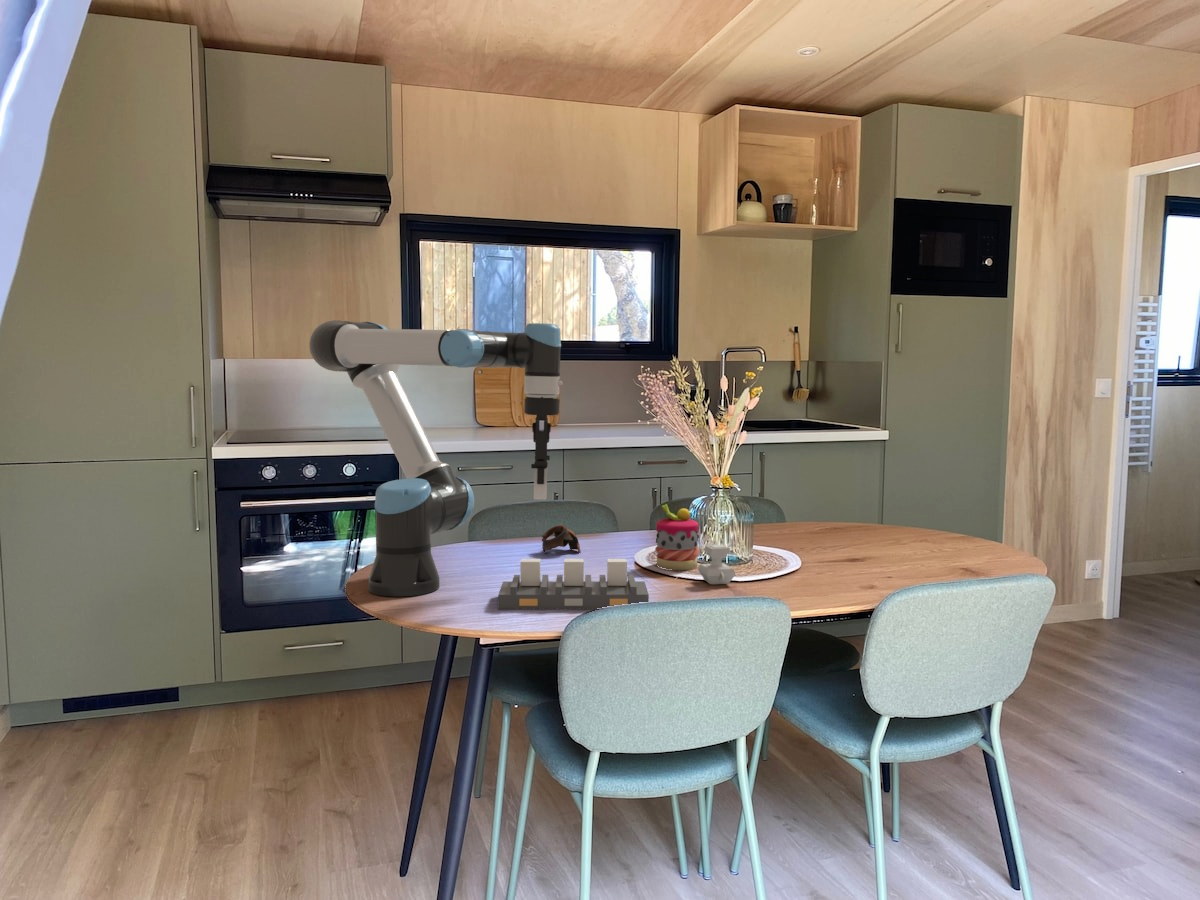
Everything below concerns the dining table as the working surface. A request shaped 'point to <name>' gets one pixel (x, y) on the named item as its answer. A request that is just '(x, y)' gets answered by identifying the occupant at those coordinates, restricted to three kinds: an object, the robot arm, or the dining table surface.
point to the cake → (677, 541)
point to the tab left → (530, 572)
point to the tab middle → (573, 572)
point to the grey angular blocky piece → (716, 566)
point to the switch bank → (570, 594)
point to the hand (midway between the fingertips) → (540, 494)
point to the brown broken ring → (560, 538)
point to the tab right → (617, 572)
